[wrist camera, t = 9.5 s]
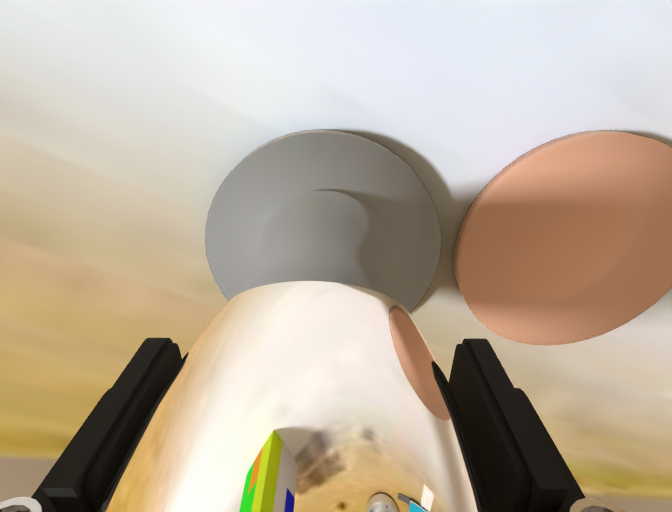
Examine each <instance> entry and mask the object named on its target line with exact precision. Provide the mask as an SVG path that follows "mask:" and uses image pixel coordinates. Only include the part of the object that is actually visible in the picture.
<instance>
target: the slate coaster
mask: <svg viewBox="0 0 672 512" xmlns="http://www.w3.org/2000/svg"><path fill="white" fill-rule="evenodd" d="M318 190H330V191H337V192H342V193H345V194H348V195H351V196H353V197H355V198H357V199H359V200H361V201H362V202H364V203H365V204H367V205H368V206H369V207H370V208H371V209H373V210H374V211H375V213H376V214H377V215H378V216H379V217H380V219H381V220H382V222H383V224H384V226H385V228H386V230H387V233H388V236H389V239H390V245H391V265H390V273H389V279H390V282H391V284H392V285H393V287H394V289H395V291H396V292H397V294H398V296H399V297H400V299H401V300H402V302H403V303H404V305H405V307H406V308H407V310H408V311H409V313H410V312H411V310H412V309H413V308H414V307H415V306H416V305H417V304H418V303H419V302H420V300H421V299H422V297H423V296H424V295H425V293H426V292H427V290H428V288H429V286H430V284H431V283H432V281H433V278H434V275H435V273H436V270H437V267H438V262H439V258H440V251H441V230H440V224H439V219H438V215H437V211H436V209H435V206H434V204H433V201H432V199H431V197H430V195H429V193H428V191H427V190H426V188H425V186H424V185H423V183H422V182H421V181H420V179H419V178H418V177H417V176H416V174H415V173H414V172H413V170H412V169H411V168H410V167H409V166H408V165H407V164H406V163H405V162H404V161H403V160H402V159H401V158H400V157H399V156H397V155H396V154H395V153H393V152H392V151H391V150H389V149H388V148H386V147H385V146H383V145H381V144H379V143H377V142H375V141H373V140H371V139H368V138H366V137H363V136H360V135H357V134H353V133H349V132H344V131H339V130H325V129H320V130H305V131H300V132H296V133H291V134H287V135H285V136H282V137H279V138H276V139H273V140H272V141H270V142H268V143H266V144H264V145H262V146H260V147H259V148H257V149H256V150H254V151H253V152H252V153H250V154H249V155H248V156H246V157H245V158H244V159H243V160H242V161H241V162H240V163H239V164H238V165H237V166H236V167H235V168H234V169H233V170H232V171H231V172H230V173H229V175H228V176H227V177H226V179H225V180H224V181H223V183H222V184H221V185H220V187H219V189H218V191H217V193H216V195H215V196H214V198H213V201H212V204H211V207H210V209H209V212H208V217H207V222H206V230H205V245H206V254H207V258H208V262H209V266H210V269H211V272H212V274H213V277H214V279H215V281H216V283H217V285H218V286H219V288H220V290H221V292H222V293H223V295H224V296H225V297H226V298H227V300H228V301H229V300H230V299H231V298H232V297H233V296H234V295H235V294H236V292H237V291H238V290H239V289H240V288H241V287H242V286H243V285H244V283H245V282H246V281H247V280H248V279H249V278H250V276H251V275H252V274H253V273H254V271H255V269H256V267H257V260H258V245H259V239H260V235H261V232H262V230H263V227H264V225H265V223H266V221H267V220H268V218H269V217H270V215H271V214H272V213H273V212H274V211H275V210H276V209H277V208H278V207H279V206H280V205H281V204H283V203H284V202H286V201H287V200H289V199H291V198H293V197H295V196H297V195H300V194H303V193H306V192H311V191H318Z"/></svg>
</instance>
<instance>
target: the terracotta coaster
mask: <svg viewBox="0 0 672 512" xmlns="http://www.w3.org/2000/svg"><path fill="white" fill-rule="evenodd" d="M454 271H455V276H456V280H457V284H458V286H459V289H460V291H461V293H462V295H463V297H464V299H465V301H466V302H467V304H468V306H469V308H470V309H471V311H472V313H473V314H474V315H475V316H476V317H477V318H478V320H479V321H480V322H481V323H482V324H484V325H485V326H486V327H487V328H488V329H490V330H492V331H493V332H495V333H496V334H498V335H500V336H503V337H505V338H507V339H510V340H513V341H517V342H520V343H526V344H532V345H561V344H568V343H574V342H579V341H583V340H587V339H590V338H593V337H596V336H599V335H602V334H604V333H607V332H609V331H611V330H614V329H616V328H618V327H620V326H621V325H623V324H625V323H627V322H629V321H631V320H632V319H634V318H635V317H637V316H638V315H640V314H641V313H643V312H644V311H645V310H647V309H648V308H649V307H651V306H652V305H653V304H655V303H656V302H657V301H658V300H659V299H660V298H661V297H662V296H663V295H664V294H665V293H666V292H667V291H668V290H669V289H670V288H671V287H672V147H670V146H669V145H667V144H664V143H662V142H660V141H657V140H655V139H651V138H647V137H643V136H638V135H634V134H629V133H625V132H621V131H608V130H599V131H586V132H581V133H575V134H570V135H567V136H564V137H560V138H557V139H554V140H551V141H549V142H547V143H545V144H542V145H540V146H538V147H536V148H534V149H532V150H530V151H529V152H527V153H525V154H523V155H522V156H520V157H519V158H517V159H516V160H514V161H513V162H512V163H510V164H509V165H508V166H506V167H505V168H504V169H503V170H502V171H500V172H499V173H498V174H497V175H496V176H495V177H494V178H493V179H492V180H491V181H490V182H489V183H488V184H487V185H486V186H485V188H484V189H483V190H482V191H481V192H480V193H479V195H478V196H477V198H476V199H475V201H474V202H473V203H472V205H471V206H470V208H469V210H468V212H467V214H466V216H465V218H464V220H463V222H462V225H461V227H460V230H459V232H458V236H457V240H456V244H455V252H454Z"/></svg>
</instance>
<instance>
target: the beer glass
mask: <svg viewBox="0 0 672 512" xmlns="http://www.w3.org/2000/svg"><path fill="white" fill-rule="evenodd" d="M390 265H391V245H390V239H389V236H388V233H387V230H386V228H385V226H384V224H383V222H382V220H381V219H380V217H379V216H378V215H377V214H376V213H375V211H374V210H373V209H371V208H370V207H369V206H368V205H367V204H365V203H364V202H362V201H361V200H359V199H357V198H355V197H353V196H351V195H348V194H345V193H342V192H337V191H330V190H318V191H311V192H306V193H303V194H300V195H297V196H295V197H293V198H291V199H289V200H287V201H286V202H284V203H283V204H281V205H280V206H279V207H278V208H277V209H276V210H275V211H274V212H273V213H272V214H271V215H270V217H269V218H268V220H267V221H266V223H265V225H264V227H263V230H262V232H261V235H260V239H259V245H258V260H257V267H256V269H255V271H254V273H253V274H252V275H251V276H250V278H249V279H248V280H247V281H246V282H245V283H244V285H243V286H242V287H241V288H240V289H239V290H238V291H237V292H236V294H235V295H234V296H233V297H232V298H231V299H230V300H229V302H228V303H227V304H226V305H225V306H224V307H223V309H222V310H221V311H220V312H219V313H218V314H217V315H216V317H215V318H214V319H213V320H212V321H211V322H210V324H209V325H208V326H207V327H206V328H205V330H204V331H203V332H202V334H201V335H200V336H199V338H198V339H197V340H196V342H195V343H194V344H193V346H192V347H191V348H190V350H189V351H188V352H187V354H186V355H185V356H184V358H183V359H182V360H181V362H180V363H179V364H178V366H177V367H176V368H175V370H174V371H173V373H172V374H171V376H170V378H169V379H168V381H167V383H166V384H165V386H164V388H163V389H162V391H161V392H160V394H159V396H158V397H157V399H156V401H155V402H154V404H153V406H152V407H151V409H150V411H149V412H148V414H147V416H146V417H145V419H144V421H143V422H142V424H141V426H140V427H139V429H138V431H137V433H136V435H135V436H134V438H133V440H132V442H131V444H130V446H129V448H128V450H127V452H126V454H125V456H124V458H123V459H122V461H121V463H120V465H119V467H118V469H117V471H116V473H115V475H114V477H113V479H112V481H111V482H110V484H109V486H108V488H107V490H106V492H105V494H104V496H103V498H102V500H101V502H100V504H99V505H98V507H97V509H96V511H95V512H496V511H495V507H494V504H493V501H492V498H491V495H490V492H489V489H488V486H487V483H486V479H485V476H484V473H483V470H482V467H481V464H480V461H479V458H478V455H477V452H476V449H475V447H474V444H473V442H472V439H471V437H470V434H469V432H468V429H467V426H466V424H465V421H464V419H463V416H462V414H461V411H460V409H459V406H458V403H457V401H456V398H455V396H454V393H453V391H452V389H451V387H450V385H449V383H448V381H447V379H446V377H445V375H444V373H443V371H442V370H441V368H440V366H439V364H438V362H437V360H436V358H435V356H434V354H433V352H432V350H431V348H430V346H429V344H428V343H427V341H426V339H425V338H424V336H423V334H422V333H421V331H420V329H419V328H418V326H417V324H416V323H415V321H414V319H413V318H412V316H411V315H410V313H409V311H408V310H407V308H406V307H405V305H404V303H403V302H402V300H401V299H400V297H399V296H398V294H397V292H396V291H395V289H394V287H393V285H392V284H391V282H390V279H389V273H390Z"/></svg>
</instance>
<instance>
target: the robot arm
mask: <svg viewBox="0 0 672 512" xmlns="http://www.w3.org/2000/svg"><path fill="white" fill-rule="evenodd" d="M181 360H182V358H181V354H180V350H179V347H178V345H177V344H176V343H173V342H172V340H171V339H170V338H147V339H146V340H145V341H144V342H143V343H142V345H141V346H140V348H139V349H138V351H137V352H136V353H135V355H134V356H133V358H132V359H131V361H130V362H129V364H128V365H127V366H126V368H125V369H124V371H123V372H122V374H121V375H120V377H119V378H118V379H117V381H116V382H115V384H114V385H113V387H112V388H111V389H109V390H108V391H107V392H106V393H105V394H104V395H103V396H102V398H101V399H100V401H99V402H98V403H97V405H96V406H95V408H94V409H93V411H92V412H91V413H90V415H89V416H88V418H87V419H86V420H85V422H84V423H83V425H82V426H81V428H80V429H79V430H78V432H77V433H76V435H75V436H74V438H73V439H72V440H71V442H70V443H69V445H68V446H67V447H66V449H65V450H64V452H63V453H62V455H61V456H60V457H59V459H58V460H57V462H56V463H55V465H54V466H53V467H52V469H51V470H50V472H49V473H48V475H47V476H46V477H45V479H44V480H43V482H42V483H41V485H40V486H39V487H38V489H37V490H36V492H35V493H34V494H33V496H32V497H31V498H30V497H15V498H12V499H9V500H6V501H3V502H1V503H0V512H95V511H96V509H97V507H98V505H99V504H100V502H101V500H102V498H103V496H104V494H105V492H106V490H107V488H108V486H109V484H110V482H111V481H112V479H113V477H114V475H115V473H116V471H117V469H118V467H119V465H120V463H121V461H122V459H123V458H124V456H125V454H126V452H127V450H128V448H129V446H130V444H131V442H132V440H133V438H134V436H135V435H136V433H137V431H138V429H139V427H140V426H141V424H142V422H143V421H144V419H145V417H146V416H147V414H148V412H149V411H150V409H151V407H152V406H153V404H154V402H155V401H156V399H157V397H158V396H159V394H160V392H161V391H162V389H163V388H164V386H165V384H166V383H167V381H168V379H169V378H170V376H171V374H172V373H173V371H174V370H175V368H176V367H177V366H178V364H179V363H180V362H181ZM449 385H450V387H451V389H452V391H453V393H454V396H455V398H456V401H457V403H458V406H459V409H460V411H461V414H462V416H463V419H464V421H465V424H466V426H467V429H468V432H469V434H470V437H471V439H472V442H473V444H474V447H475V449H476V452H477V455H478V458H479V461H480V464H481V467H482V470H483V473H484V476H485V479H486V483H487V486H488V489H489V492H490V495H491V498H492V501H493V504H494V507H495V511H496V512H625V511H624V510H622V509H620V508H619V507H617V506H615V505H613V504H611V503H609V502H606V501H603V500H600V499H597V498H585V496H584V494H583V492H582V491H581V489H580V487H579V485H578V484H577V482H576V480H575V479H574V477H573V475H572V473H571V472H570V470H569V468H568V466H567V465H566V463H565V461H564V459H563V458H562V456H561V454H560V453H559V451H558V449H557V447H556V446H555V444H554V442H553V440H552V439H551V437H550V435H549V433H548V432H547V430H546V428H545V427H544V425H543V423H542V421H541V420H540V418H539V416H538V414H537V413H536V411H535V409H534V407H533V406H532V404H531V402H530V401H529V399H528V397H527V396H526V394H525V393H524V391H522V390H521V389H520V388H514V387H513V385H512V383H511V381H510V379H509V378H508V376H507V374H506V372H505V370H504V368H503V367H502V365H501V363H500V361H499V359H498V358H497V356H496V354H495V352H494V350H493V349H492V347H491V345H490V343H489V342H488V340H487V339H464V340H463V343H462V344H457V346H456V350H455V355H454V359H453V364H452V369H451V374H450V379H449Z"/></svg>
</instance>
